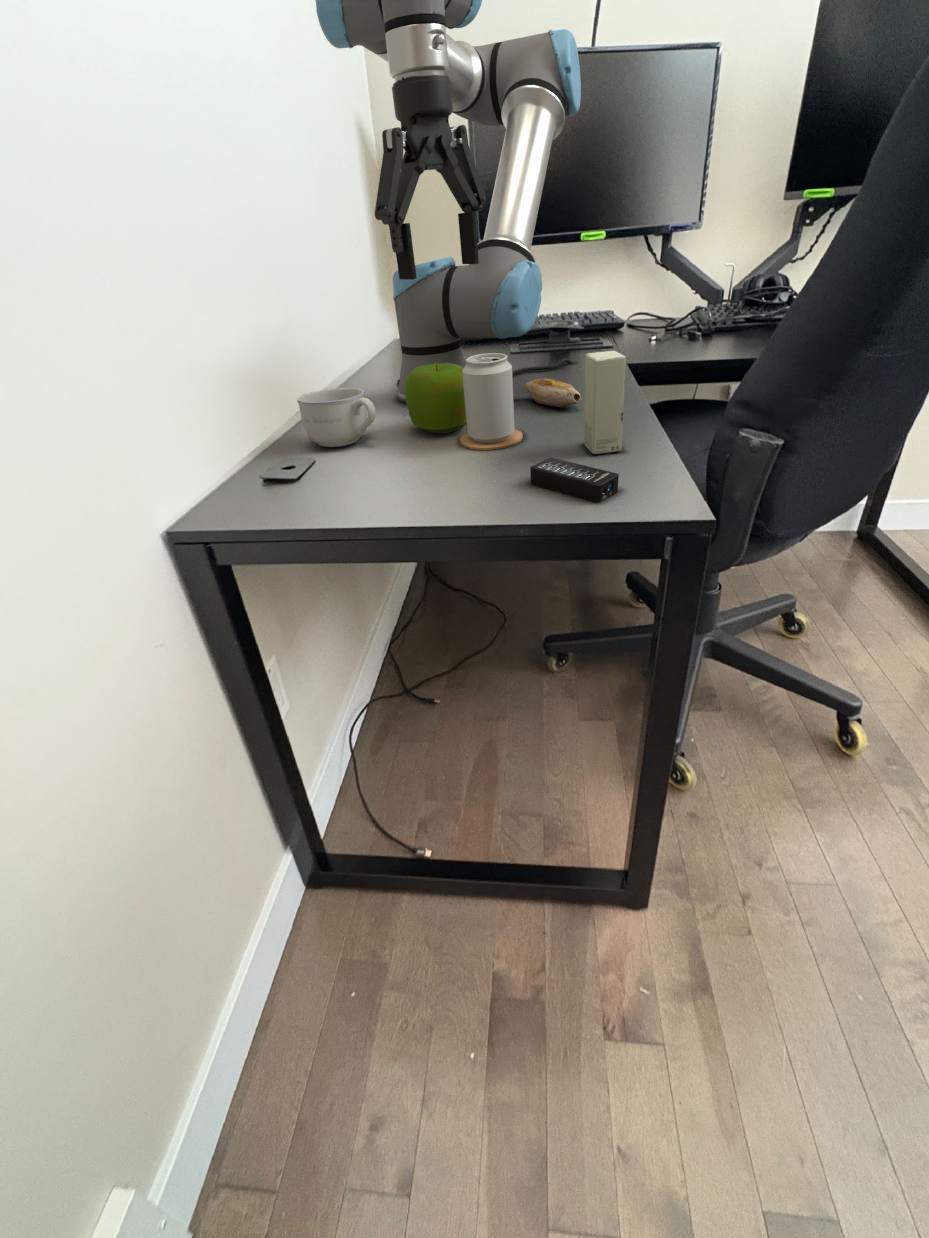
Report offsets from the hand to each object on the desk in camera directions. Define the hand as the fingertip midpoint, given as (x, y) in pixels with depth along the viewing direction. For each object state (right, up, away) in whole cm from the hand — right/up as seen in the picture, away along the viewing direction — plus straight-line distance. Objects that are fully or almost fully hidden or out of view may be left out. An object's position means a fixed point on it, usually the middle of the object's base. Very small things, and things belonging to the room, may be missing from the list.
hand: (440, 271), depth 88 cm
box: (+24, -26, 0) cm, 35 cm away
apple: (0, -19, +14) cm, 24 cm away
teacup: (-16, -22, +12) cm, 30 cm away
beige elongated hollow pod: (+19, -12, +21) cm, 31 cm away
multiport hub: (+17, -34, -10) cm, 40 cm away
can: (+8, -22, +8) cm, 25 cm away
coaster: (+8, -22, +8) cm, 25 cm away
